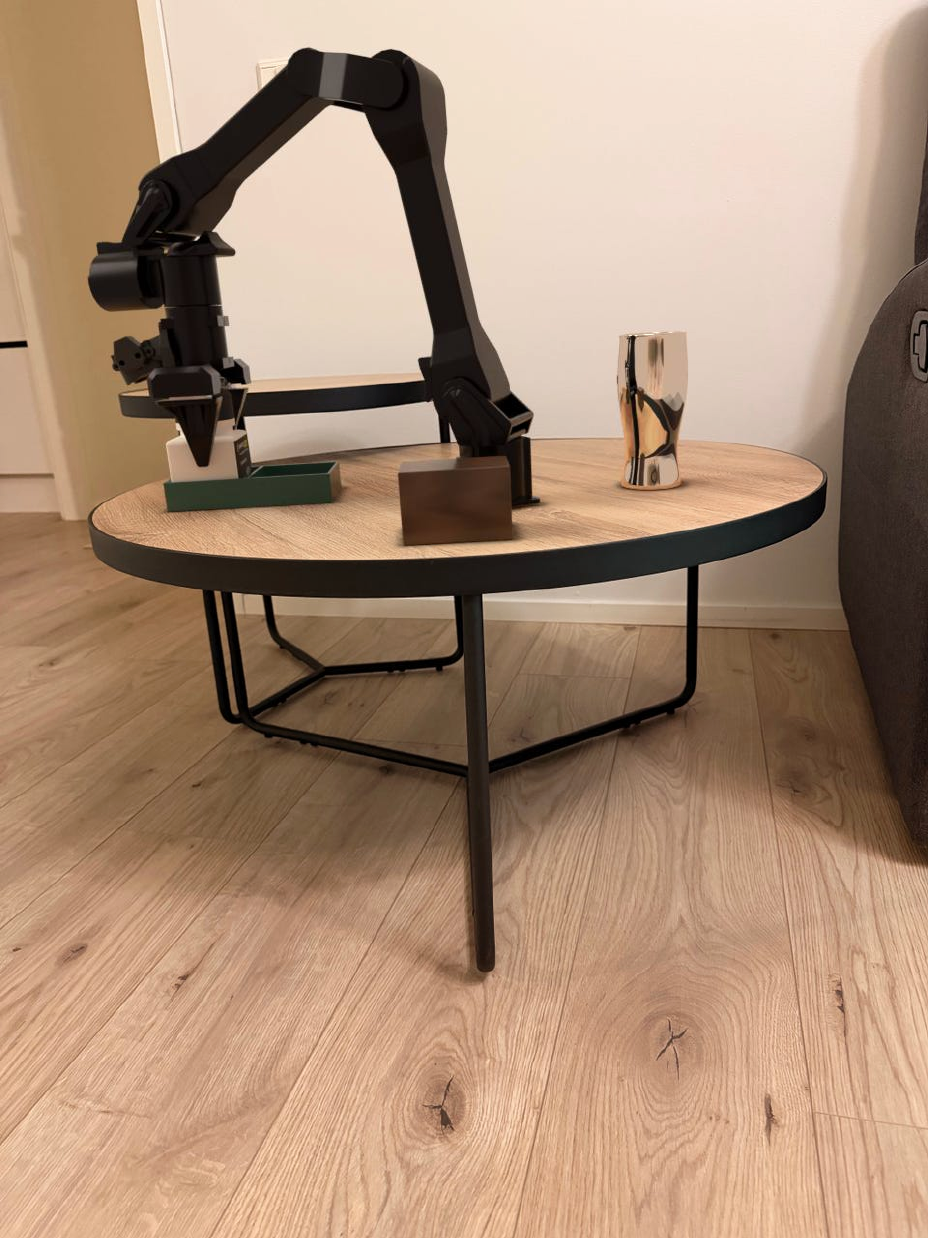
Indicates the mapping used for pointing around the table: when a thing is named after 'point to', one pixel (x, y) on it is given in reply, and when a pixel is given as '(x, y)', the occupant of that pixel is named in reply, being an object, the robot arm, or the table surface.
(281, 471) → the divided tray
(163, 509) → the table surface
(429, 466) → the walnut stand
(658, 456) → the beer glass
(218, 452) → the medicine bottle
